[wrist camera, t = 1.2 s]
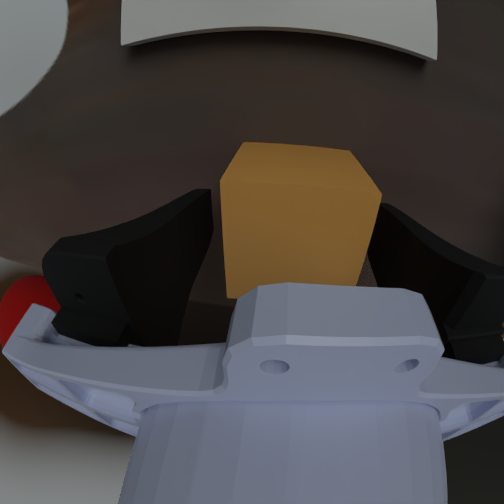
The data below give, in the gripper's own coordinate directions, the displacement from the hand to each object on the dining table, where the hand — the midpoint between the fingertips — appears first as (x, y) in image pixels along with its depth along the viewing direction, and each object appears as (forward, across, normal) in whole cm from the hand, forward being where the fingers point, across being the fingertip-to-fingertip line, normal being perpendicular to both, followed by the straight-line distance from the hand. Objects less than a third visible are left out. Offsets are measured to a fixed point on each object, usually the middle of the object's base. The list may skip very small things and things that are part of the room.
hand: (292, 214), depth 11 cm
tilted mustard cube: (+2, 0, 0) cm, 2 cm away
